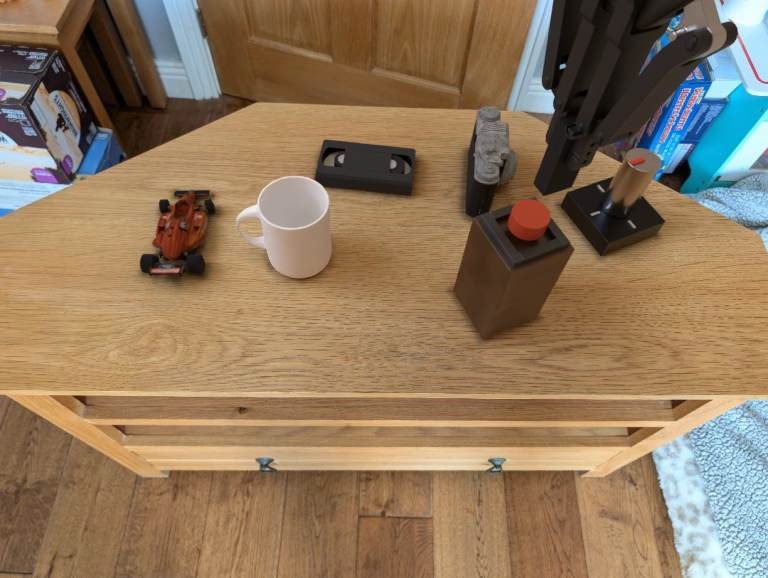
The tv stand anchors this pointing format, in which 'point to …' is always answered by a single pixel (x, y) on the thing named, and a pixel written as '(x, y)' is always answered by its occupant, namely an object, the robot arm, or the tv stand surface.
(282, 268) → the mug
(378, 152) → the vhs tape
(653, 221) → the dial panel
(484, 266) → the pillar
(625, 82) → the robot arm
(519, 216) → the press knob
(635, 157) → the dial
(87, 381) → the tv stand surface
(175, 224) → the toy car
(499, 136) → the camera
